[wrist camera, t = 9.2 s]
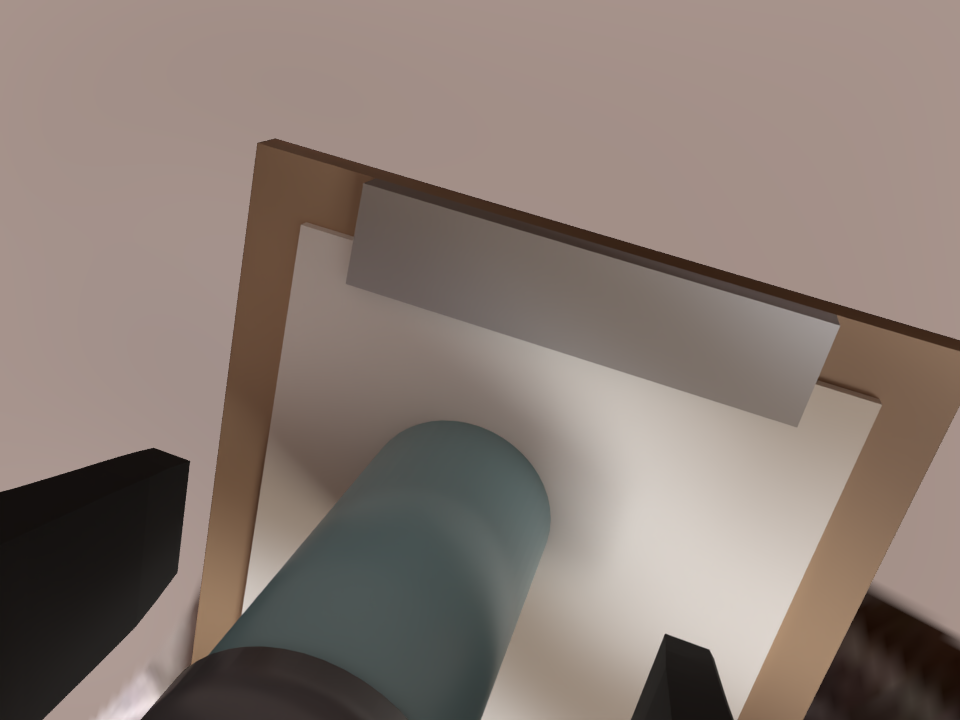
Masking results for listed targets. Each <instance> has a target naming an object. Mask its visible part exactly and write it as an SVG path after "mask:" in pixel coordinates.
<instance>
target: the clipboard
mask: <svg viewBox="0 0 960 720" xmlns="http://www.w3.org/2000/svg"><path fill="white" fill-rule="evenodd" d="M959 406H960V340H956V339H953V338H950V337H947V336H943V335H940V334H936V333H933V332H929V331H926V330H923V329H919V328H916V327H912V326H909V325H906V324H902V323H899V322H896V321H892V320H889V319H885V318H882V317H879V316H875V315H872V314H868V313H865V312H861V311H858V310H855V309H852V308H848V307H845V306H841V305H838V304H835V303H831V302H828V301H824V300H821V299H817V298H814V297H811V296H807V295H804V294H801V293H797V292H794V291H791V290H787V289H784V288H780V287H777V286H774V285H770V284H766V283H763V282H760V281H756V280H753V279H750V278H746V277H743V276H740V275H736V274H733V273H730V272H726V271H723V270H719V269H716V268H712V267H709V266H706V265H702V264H699V263H695V262H692V261H689V260H685V259H682V258H679V257H675V256H671V255H669V254H665V253H662V252H658V251H655V250H652V249H648V248H645V247H641V246H638V245H634V244H631V243H628V242H624V241H621V240H617V239H614V238H611V237H607V236H604V235H601V234H597V233H594V232H591V231H587V230H584V229H580V228H577V227H574V226H570V225H567V224H563V223H560V222H557V221H553V220H550V219H546V218H543V217H540V216H536V215H533V214H529V213H526V212H523V211H519V210H516V209H512V208H509V207H506V206H502V205H499V204H496V203H492V202H489V201H485V200H482V199H479V198H475V197H472V196H468V195H465V194H461V193H458V192H455V191H451V190H448V189H445V188H441V187H438V186H434V185H431V184H428V183H424V182H421V181H418V180H414V179H411V178H407V177H404V176H401V175H397V174H394V173H390V172H387V171H384V170H380V169H377V168H373V167H370V166H366V165H363V164H360V163H356V162H353V161H349V160H346V159H343V158H340V157H336V156H333V155H329V154H326V153H322V152H319V151H316V150H312V149H309V148H305V147H302V146H299V145H295V144H292V143H289V142H285V141H282V140H279V139H272V140H268V141H263V142H260V143H257V151H256V158H255V166H254V174H253V182H252V190H251V198H250V206H249V214H248V221H247V229H246V237H245V245H244V253H243V260H242V268H241V276H240V284H239V292H238V300H237V308H236V315H235V324H234V331H233V339H232V347H231V356H230V363H229V371H228V379H227V386H226V394H225V402H224V411H223V418H222V426H221V434H220V441H219V449H218V457H217V465H216V473H215V481H214V489H213V496H212V504H211V512H210V520H209V528H208V536H207V544H206V552H205V559H204V567H203V575H202V583H201V591H200V599H199V606H198V614H197V622H196V630H195V638H194V646H193V654H192V661H191V665H192V664H193V663H195V662H196V661H198V660H200V659H202V658H204V657H206V656H208V655H209V653H210V652H211V651H212V650H213V649H214V648H215V646H216V645H217V644H218V643H219V642H220V640H221V639H222V638H223V637H224V636H225V634H226V633H227V632H228V631H229V630H230V629H231V627H232V626H233V625H234V624H235V623H236V621H237V620H238V619H239V618H240V617H241V615H242V614H243V613H244V612H245V611H246V610H247V608H248V607H249V606H250V605H251V604H252V602H253V601H254V600H255V599H256V598H257V596H258V595H259V594H260V593H261V592H262V591H263V589H264V588H265V587H266V586H267V585H268V583H269V582H270V581H271V580H272V579H273V577H274V576H275V575H276V574H277V573H278V572H279V570H280V569H281V568H282V567H283V566H284V564H285V563H286V562H287V561H288V560H289V559H290V557H291V556H292V555H293V554H294V553H295V551H296V550H297V549H298V548H299V547H300V545H301V544H302V543H303V542H304V541H305V540H306V538H307V537H308V536H309V535H310V534H311V532H312V531H313V530H314V529H315V528H316V526H317V525H318V524H319V523H320V522H321V521H322V519H323V518H324V517H325V516H326V515H327V513H328V512H329V511H330V510H331V509H332V507H333V506H334V505H335V504H336V503H337V502H338V500H339V499H340V498H341V497H342V496H343V494H344V493H345V492H346V491H347V490H348V488H349V487H350V486H351V485H352V484H353V483H354V481H355V480H356V479H357V478H358V477H359V475H360V474H361V473H362V472H363V471H364V469H365V468H366V467H367V466H368V465H369V464H370V462H371V461H372V460H373V459H374V458H375V456H376V455H377V454H378V453H379V452H380V450H381V449H382V448H383V447H384V446H385V445H386V444H387V443H388V442H389V441H390V440H391V439H392V438H393V437H395V436H396V435H397V434H399V433H400V432H402V431H404V430H406V429H408V428H410V427H413V426H415V425H418V424H421V423H426V422H430V421H441V420H445V421H459V422H465V423H469V424H473V425H476V426H480V427H482V428H484V429H487V430H489V431H491V432H493V433H495V434H497V435H499V436H500V437H502V438H504V439H505V440H506V441H508V442H509V443H511V444H512V445H513V446H514V447H515V448H517V449H518V450H519V451H520V452H521V453H522V454H523V455H524V456H525V457H526V458H527V460H528V461H529V462H530V463H531V464H532V466H533V467H534V469H535V470H536V472H537V473H538V475H539V477H540V479H541V481H542V483H543V485H544V488H545V490H546V493H547V496H548V501H549V506H550V516H551V522H550V532H549V536H548V540H547V543H546V546H545V549H544V551H543V554H542V557H541V559H540V562H539V565H538V567H537V570H536V573H535V575H534V578H533V581H532V584H531V586H530V589H529V592H528V594H527V597H526V600H525V602H524V605H523V608H522V611H521V613H520V616H519V619H518V621H517V624H516V627H515V629H514V632H513V635H512V638H511V640H510V643H509V646H508V648H507V651H506V654H505V656H504V659H503V662H502V664H501V667H500V670H499V673H498V675H497V678H496V681H495V683H494V686H493V689H492V691H491V694H490V697H489V700H488V702H487V705H486V708H485V710H484V713H483V716H482V718H481V720H631V718H632V716H633V713H634V711H635V708H636V706H637V703H638V700H639V698H640V695H641V693H642V690H643V688H644V685H645V683H646V680H647V678H648V675H649V673H650V670H651V668H652V665H653V663H654V660H655V658H656V655H657V652H658V650H659V647H660V645H661V642H662V640H663V637H664V635H665V634H668V635H671V636H673V637H676V638H679V639H682V640H685V641H687V642H690V643H693V644H696V645H698V646H701V647H704V648H707V649H709V650H710V652H711V654H712V656H713V658H714V660H715V663H716V666H717V670H718V673H719V676H720V680H721V683H722V686H723V689H724V692H725V695H726V698H727V701H728V704H729V707H730V710H731V713H732V716H733V719H734V720H803V718H804V716H805V714H806V712H807V710H808V708H809V706H810V704H811V702H812V700H813V698H814V696H815V694H816V692H817V690H818V688H819V686H820V684H821V682H822V680H823V678H824V676H825V674H826V672H827V670H828V668H829V666H830V664H831V662H832V660H833V658H834V656H835V654H836V652H837V650H838V648H839V646H840V644H841V642H842V640H843V638H844V636H845V634H846V632H847V630H848V628H849V626H850V624H851V622H852V620H853V618H854V616H855V614H856V612H857V610H858V608H859V606H860V604H861V602H862V600H863V598H864V596H865V594H866V592H867V590H868V588H869V586H870V584H871V582H872V580H873V578H874V576H875V574H876V572H877V570H878V568H879V566H880V564H881V562H882V560H883V558H884V556H885V554H886V552H887V550H888V548H889V546H890V544H891V542H892V540H893V538H894V536H895V534H896V532H897V530H898V528H899V526H900V524H901V522H902V520H903V518H904V516H905V514H906V512H907V510H908V508H909V506H910V504H911V502H912V500H913V498H914V496H915V494H916V492H917V490H918V488H919V486H920V484H921V482H922V480H923V478H924V476H925V474H926V472H927V470H928V468H929V466H930V464H931V462H932V460H933V458H934V456H935V454H936V452H937V450H938V448H939V446H940V444H941V442H942V440H943V438H944V436H945V434H946V432H947V430H948V428H949V425H950V424H951V422H952V420H953V418H954V416H955V414H956V412H957V410H958V408H959Z"/></svg>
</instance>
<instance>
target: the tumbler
mask: <svg viewBox="0 0 960 720" xmlns="http://www.w3.org/2000/svg"><path fill="white" fill-rule="evenodd" d="M550 522H551V516H550V506H549V501H548V496H547V493H546V490H545V488H544V485H543V483H542V481H541V479H540V477H539V475H538V473H537V472H536V470H535V469H534V467H533V466H532V464H531V463H530V462H529V461H528V460H527V458H526V457H525V456H524V455H523V454H522V453H521V452H520V451H519V450H518V449H517V448H515V447H514V446H513V445H512V444H511V443H509V442H508V441H506V440H505V439H504V438H502V437H500V436H499V435H497V434H495V433H493V432H491V431H489V430H487V429H484V428H482V427H480V426H476V425H473V424H469V423H465V422H459V421H445V420H441V421H430V422H426V423H421V424H418V425H415V426H413V427H410V428H408V429H406V430H404V431H402V432H400V433H399V434H397V435H396V436H395V437H393V438H392V439H391V440H390V441H389V442H388V443H387V444H386V445H385V446H384V447H383V448H382V449H381V450H380V452H379V453H378V454H377V455H376V456H375V458H374V459H373V460H372V461H371V462H370V464H369V465H368V466H367V467H366V468H365V469H364V471H363V472H362V473H361V474H360V475H359V477H358V478H357V479H356V480H355V481H354V483H353V484H352V485H351V486H350V487H349V488H348V490H347V491H346V492H345V493H344V494H343V496H342V497H341V498H340V499H339V500H338V502H337V503H336V504H335V505H334V506H333V507H332V509H331V510H330V511H329V512H328V513H327V515H326V516H325V517H324V518H323V519H322V521H321V522H320V523H319V524H318V525H317V526H316V528H315V529H314V530H313V531H312V532H311V534H310V535H309V536H308V537H307V538H306V540H305V541H304V542H303V543H302V544H301V545H300V547H299V548H298V549H297V550H296V551H295V553H294V554H293V555H292V556H291V557H290V559H289V560H288V561H287V562H286V563H285V564H284V566H283V567H282V568H281V569H280V570H279V572H278V573H277V574H276V575H275V576H274V577H273V579H272V580H271V581H270V582H269V583H268V585H267V586H266V587H265V588H264V589H263V591H262V592H261V593H260V594H259V595H258V596H257V598H256V599H255V600H254V601H253V602H252V604H251V605H250V606H249V607H248V608H247V610H246V611H245V612H244V613H243V614H242V615H241V617H240V618H239V619H238V620H237V621H236V623H235V624H234V625H233V626H232V627H231V629H230V630H229V631H228V632H227V633H226V634H225V636H224V637H223V638H222V639H221V640H220V642H219V643H218V644H217V645H216V646H215V648H214V649H213V650H212V651H211V652H210V653H209V655H208V656H206V657H204V658H202V659H200V660H198V661H196V662H195V663H193V664H192V665H191V666H189V667H188V668H187V669H185V670H184V671H183V672H182V673H181V674H180V675H179V676H178V677H177V678H176V679H175V681H174V682H173V683H172V684H171V685H170V686H169V687H168V689H167V690H166V691H165V692H164V693H163V694H162V696H161V697H160V698H159V699H158V700H157V701H156V703H155V704H154V705H153V706H152V707H151V708H150V710H149V711H148V712H147V713H146V714H145V715H144V717H143V718H142V719H141V720H481V718H482V716H483V713H484V710H485V708H486V705H487V702H488V700H489V697H490V694H491V691H492V689H493V686H494V683H495V681H496V678H497V675H498V673H499V670H500V667H501V664H502V662H503V659H504V656H505V654H506V651H507V648H508V646H509V643H510V640H511V638H512V635H513V632H514V629H515V627H516V624H517V621H518V619H519V616H520V613H521V611H522V608H523V605H524V602H525V600H526V597H527V594H528V592H529V589H530V586H531V584H532V581H533V578H534V575H535V573H536V570H537V567H538V565H539V562H540V559H541V557H542V554H543V551H544V549H545V546H546V543H547V540H548V536H549V532H550Z"/></svg>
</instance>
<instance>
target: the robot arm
mask: <svg viewBox="0 0 960 720" xmlns="http://www.w3.org/2000/svg"><path fill="white" fill-rule="evenodd" d="M189 465H190V461H188V460H186V459H183V458H180V457H177V456H174V455H172V454H169V453H166V452H164V451H161V450H158V449H155V448H151V449H147V450H142V451H139V452H134V453H131V454H127V455H124V456H120V457H117V458H114V459H110V460H107V461H103V462H100V463H97V464H94V465H90V466H87V467H84V468H81V469H78V470H74V471H71V472H68V473H65V474H61V475H58V476H54V477H51V478H48V479H44V480H41V481H38V482H34V483H31V484H28V485H24V486H21V487H18V488H14V489H10V490H6V491H3V492H0V720H43V719H44V718H45V717H46V716H47V714H48V713H50V712H51V711H52V710H53V709H54V708H55V707H56V706H57V705H58V704H59V703H60V702H61V701H62V700H63V699H64V698H65V697H66V696H67V695H68V694H69V693H70V692H71V691H72V690H73V689H74V688H75V687H76V686H77V685H78V684H79V683H80V682H81V681H82V680H83V679H84V678H85V677H86V676H87V675H88V674H89V673H90V672H91V671H92V670H93V669H94V668H95V667H96V666H97V665H98V664H99V663H100V662H101V661H102V660H103V659H104V658H105V657H106V656H107V655H108V654H109V653H110V652H111V651H112V650H113V649H114V648H115V647H116V646H117V645H118V644H119V643H120V642H121V641H122V640H123V639H124V638H125V637H126V636H127V635H128V634H129V633H130V632H131V631H132V630H133V629H134V628H135V627H136V626H137V624H138V623H139V622H140V620H141V619H142V618H143V617H144V616H145V614H146V613H147V612H148V611H149V609H150V608H151V607H152V605H153V604H154V603H155V602H156V600H157V599H158V598H159V596H160V595H161V594H162V592H163V591H164V590H165V588H166V587H167V586H168V584H169V583H170V582H171V580H172V579H173V578H174V576H175V575H176V574H177V571H178V562H179V553H180V544H181V535H182V526H183V517H184V509H185V501H186V492H187V482H188V473H189ZM631 720H734V719H733V716H732V713H731V710H730V707H729V704H728V701H727V698H726V695H725V692H724V689H723V686H722V683H721V680H720V676H719V673H718V670H717V666H716V663H715V660H714V658H713V656H712V654H711V652H710V650H709V649H707V648H704V647H701V646H698V645H696V644H693V643H690V642H687V641H685V640H682V639H679V638H676V637H673V636H671V635H668V634H665V635H664V637H663V640H662V642H661V645H660V647H659V650H658V652H657V655H656V658H655V660H654V663H653V665H652V668H651V670H650V673H649V675H648V678H647V680H646V683H645V685H644V688H643V690H642V693H641V695H640V698H639V700H638V703H637V706H636V708H635V711H634V713H633V716H632V718H631Z"/></svg>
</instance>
